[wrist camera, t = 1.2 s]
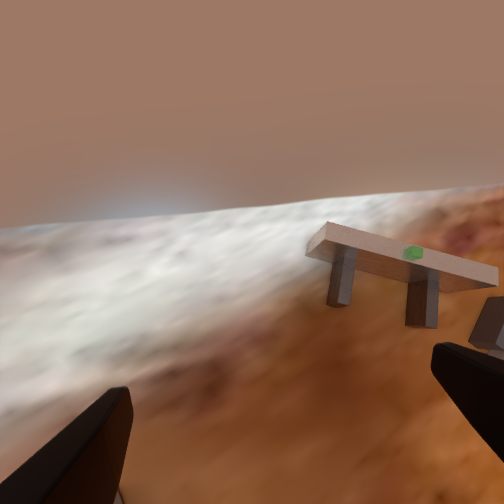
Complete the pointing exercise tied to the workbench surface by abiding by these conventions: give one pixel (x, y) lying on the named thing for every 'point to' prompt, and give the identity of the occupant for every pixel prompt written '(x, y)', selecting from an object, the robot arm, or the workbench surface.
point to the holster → (490, 326)
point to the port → (396, 269)
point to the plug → (496, 354)
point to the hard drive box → (118, 499)
